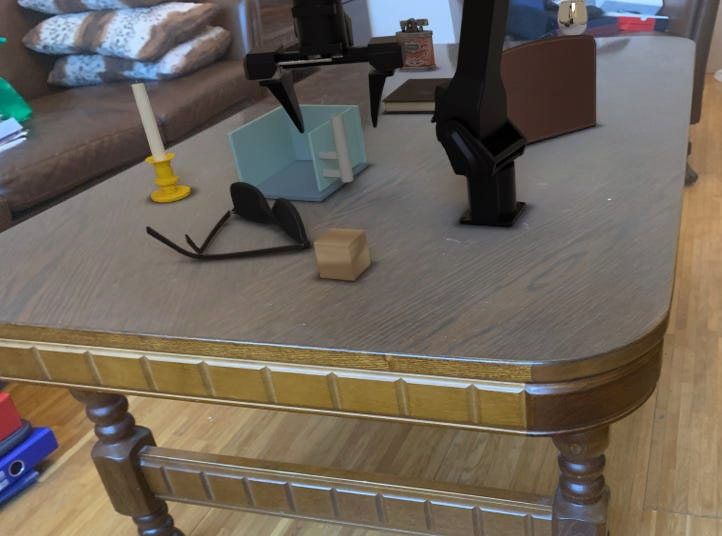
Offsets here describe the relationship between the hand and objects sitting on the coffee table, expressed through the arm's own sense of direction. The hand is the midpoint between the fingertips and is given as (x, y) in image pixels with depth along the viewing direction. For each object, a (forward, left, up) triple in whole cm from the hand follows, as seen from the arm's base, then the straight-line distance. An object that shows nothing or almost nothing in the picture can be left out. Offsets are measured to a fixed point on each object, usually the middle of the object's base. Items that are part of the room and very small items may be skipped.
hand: (338, 129), depth 96 cm
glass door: (+4, +1, -8) cm, 9 cm away
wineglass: (+72, -13, -9) cm, 74 cm away
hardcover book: (+46, +2, -9) cm, 47 cm away
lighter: (+70, +20, -9) cm, 74 cm away
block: (-21, -10, -9) cm, 24 cm away
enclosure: (+4, +9, -9) cm, 13 cm away
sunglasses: (-18, +7, -9) cm, 21 cm away
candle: (-4, +26, -9) cm, 28 cm away
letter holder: (+28, -16, -9) cm, 34 cm away
